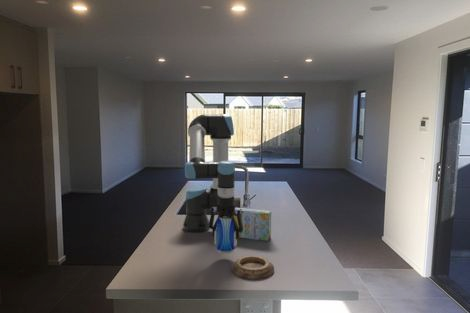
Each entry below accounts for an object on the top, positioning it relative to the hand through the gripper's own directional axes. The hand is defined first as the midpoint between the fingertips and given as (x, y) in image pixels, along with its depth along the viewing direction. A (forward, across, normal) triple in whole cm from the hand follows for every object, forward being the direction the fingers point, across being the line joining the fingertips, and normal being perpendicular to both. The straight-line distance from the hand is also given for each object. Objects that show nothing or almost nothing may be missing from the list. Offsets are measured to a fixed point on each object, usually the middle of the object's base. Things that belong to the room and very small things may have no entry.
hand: (225, 244), depth 160 cm
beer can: (+3, 0, 0) cm, 3 cm away
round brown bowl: (+6, +14, -8) cm, 17 cm away
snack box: (+8, +5, +29) cm, 31 cm away
